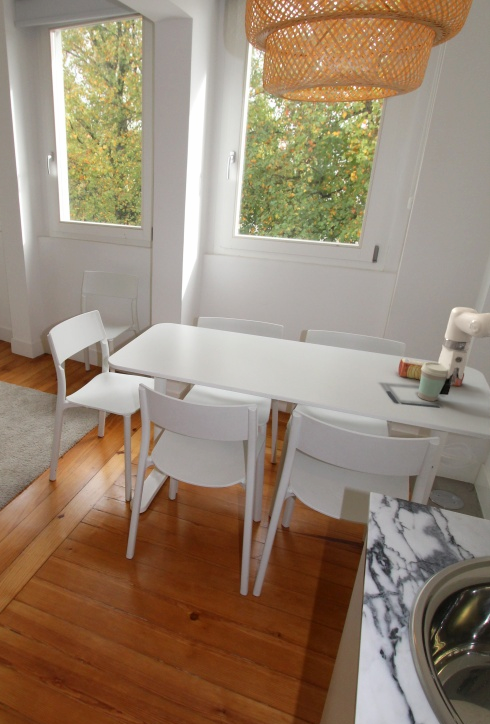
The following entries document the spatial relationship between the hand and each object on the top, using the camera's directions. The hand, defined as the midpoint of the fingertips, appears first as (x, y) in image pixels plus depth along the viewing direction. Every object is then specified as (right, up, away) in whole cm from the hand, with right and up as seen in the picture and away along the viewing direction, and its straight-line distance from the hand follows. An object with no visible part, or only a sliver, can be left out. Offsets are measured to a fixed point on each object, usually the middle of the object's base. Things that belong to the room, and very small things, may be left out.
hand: (442, 393), depth 164 cm
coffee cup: (-5, -2, +1) cm, 5 cm away
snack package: (+4, +4, +16) cm, 17 cm away
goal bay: (-11, -1, +2) cm, 11 cm away
